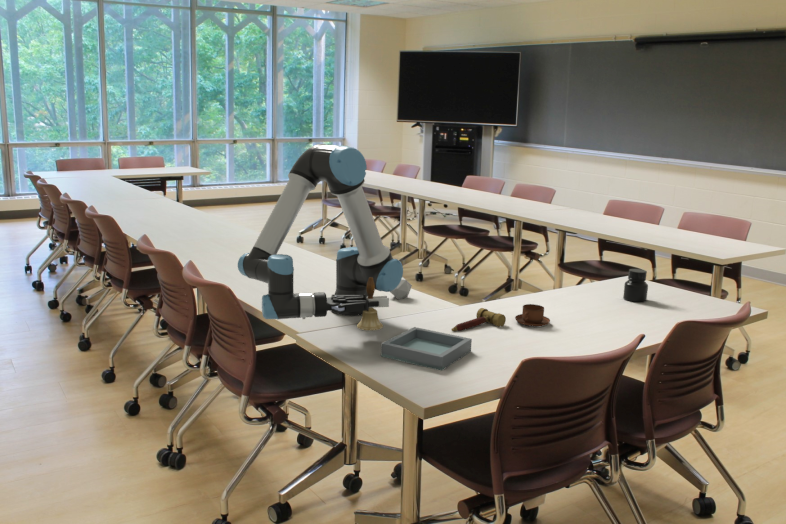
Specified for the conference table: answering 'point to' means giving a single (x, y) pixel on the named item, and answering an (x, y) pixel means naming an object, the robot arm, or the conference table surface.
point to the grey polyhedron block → (402, 289)
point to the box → (426, 348)
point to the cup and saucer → (532, 316)
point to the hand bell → (370, 312)
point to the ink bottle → (636, 286)
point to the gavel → (482, 320)
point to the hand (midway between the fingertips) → (387, 301)
